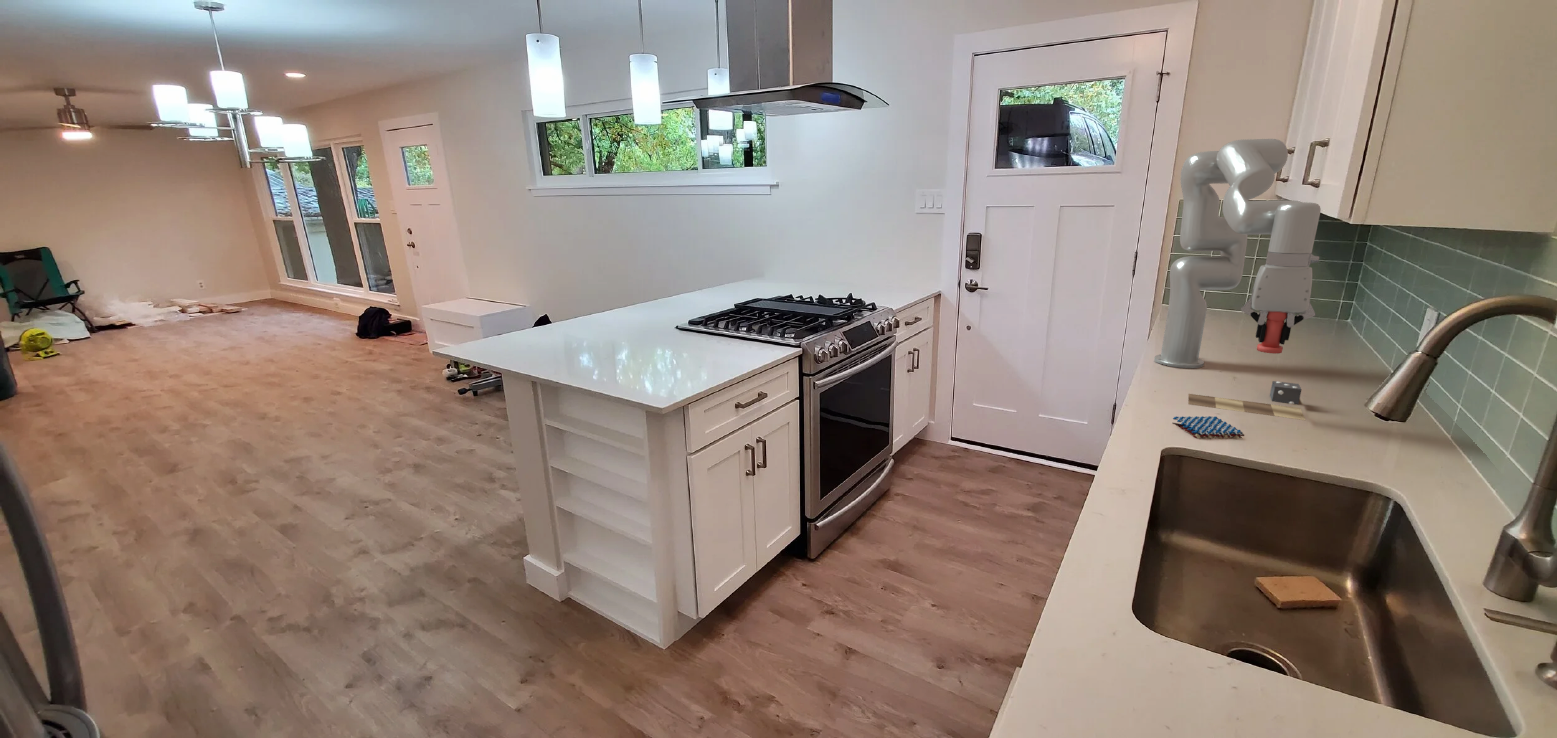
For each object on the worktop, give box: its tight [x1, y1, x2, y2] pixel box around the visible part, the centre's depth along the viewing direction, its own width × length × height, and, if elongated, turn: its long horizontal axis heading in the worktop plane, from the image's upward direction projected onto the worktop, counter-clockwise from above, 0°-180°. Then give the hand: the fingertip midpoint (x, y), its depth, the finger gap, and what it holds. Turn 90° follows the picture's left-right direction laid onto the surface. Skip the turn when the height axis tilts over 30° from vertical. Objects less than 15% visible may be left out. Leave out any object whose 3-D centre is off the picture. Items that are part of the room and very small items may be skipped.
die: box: [1269, 380, 1302, 405], centre depth 152 cm, size 5×5×5 cm
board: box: [1187, 393, 1306, 421], centre depth 149 cm, size 9×22×1 cm, turn 58°
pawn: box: [1256, 312, 1287, 355], centre depth 142 cm, size 5×5×10 cm
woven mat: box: [1172, 415, 1245, 440], centre depth 138 cm, size 10×11×2 cm
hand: (1271, 341), depth 143 cm, fingers closed on pawn, 3 cm apart
